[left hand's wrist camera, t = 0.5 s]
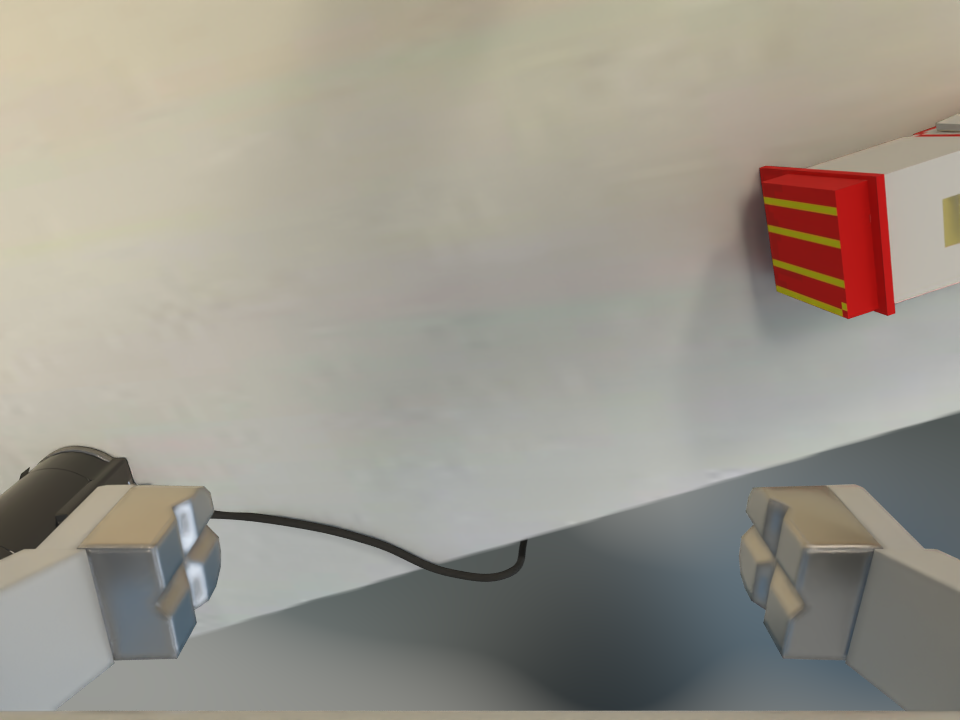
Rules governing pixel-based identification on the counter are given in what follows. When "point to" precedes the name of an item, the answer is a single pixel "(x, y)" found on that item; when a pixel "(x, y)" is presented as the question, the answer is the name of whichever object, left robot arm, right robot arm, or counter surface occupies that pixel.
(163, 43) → the counter surface
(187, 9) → the counter surface
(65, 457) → the right robot arm
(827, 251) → the toy
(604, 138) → the counter surface
